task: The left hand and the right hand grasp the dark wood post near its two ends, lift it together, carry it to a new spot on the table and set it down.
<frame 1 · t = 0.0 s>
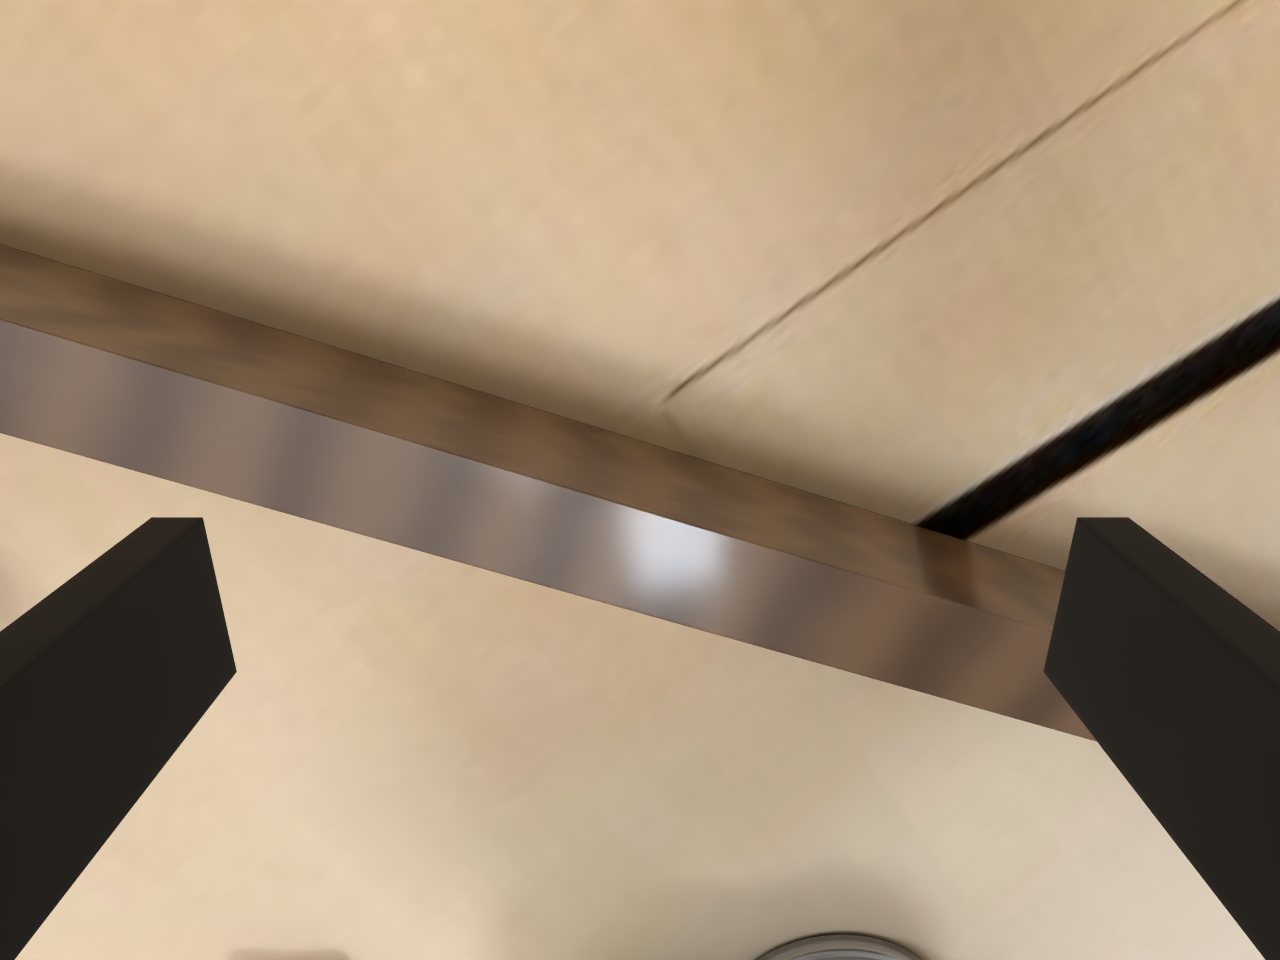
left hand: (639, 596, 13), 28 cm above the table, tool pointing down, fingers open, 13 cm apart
post: (686, 499, 42), on the table
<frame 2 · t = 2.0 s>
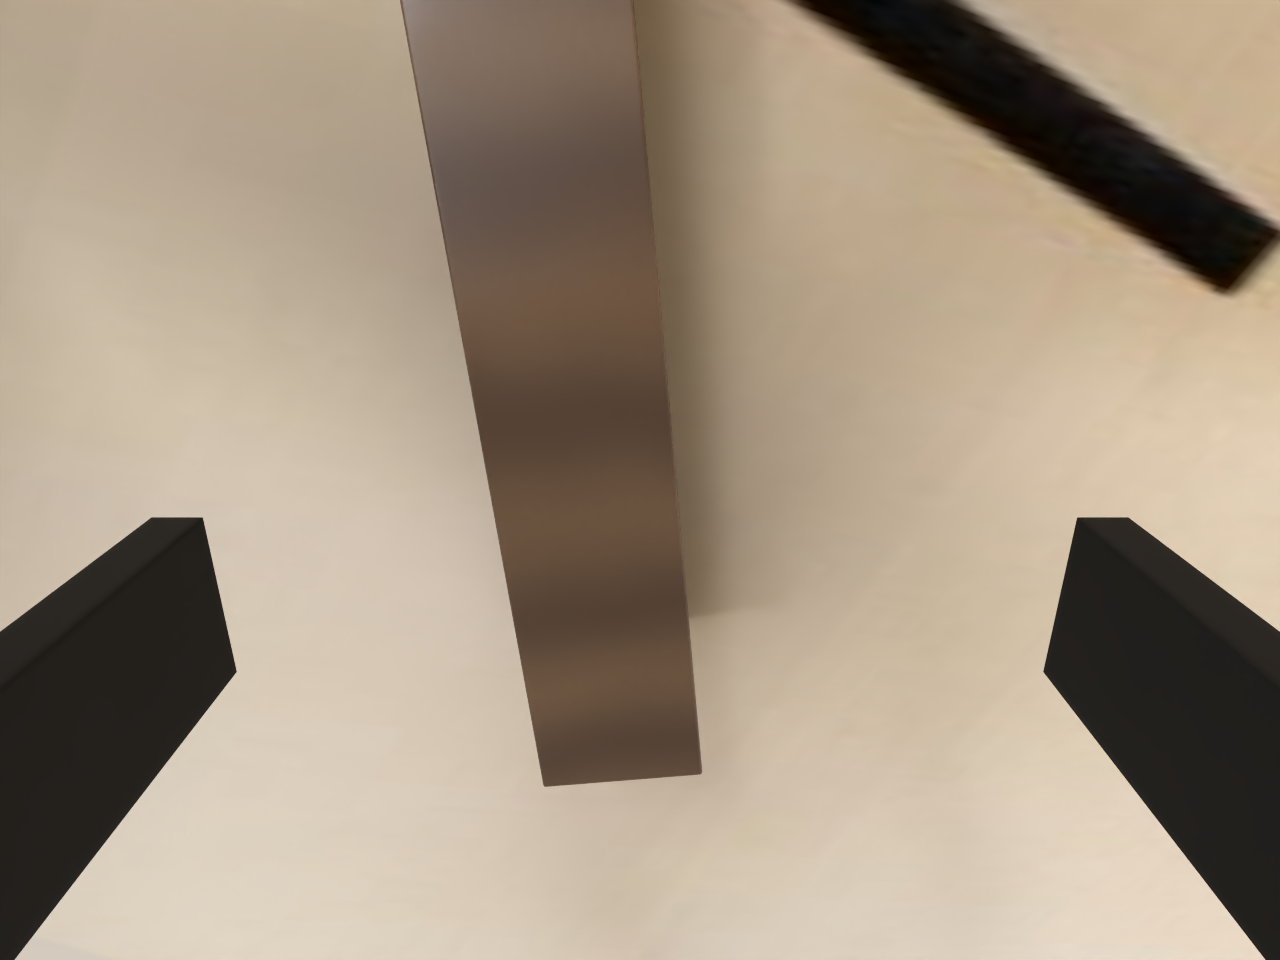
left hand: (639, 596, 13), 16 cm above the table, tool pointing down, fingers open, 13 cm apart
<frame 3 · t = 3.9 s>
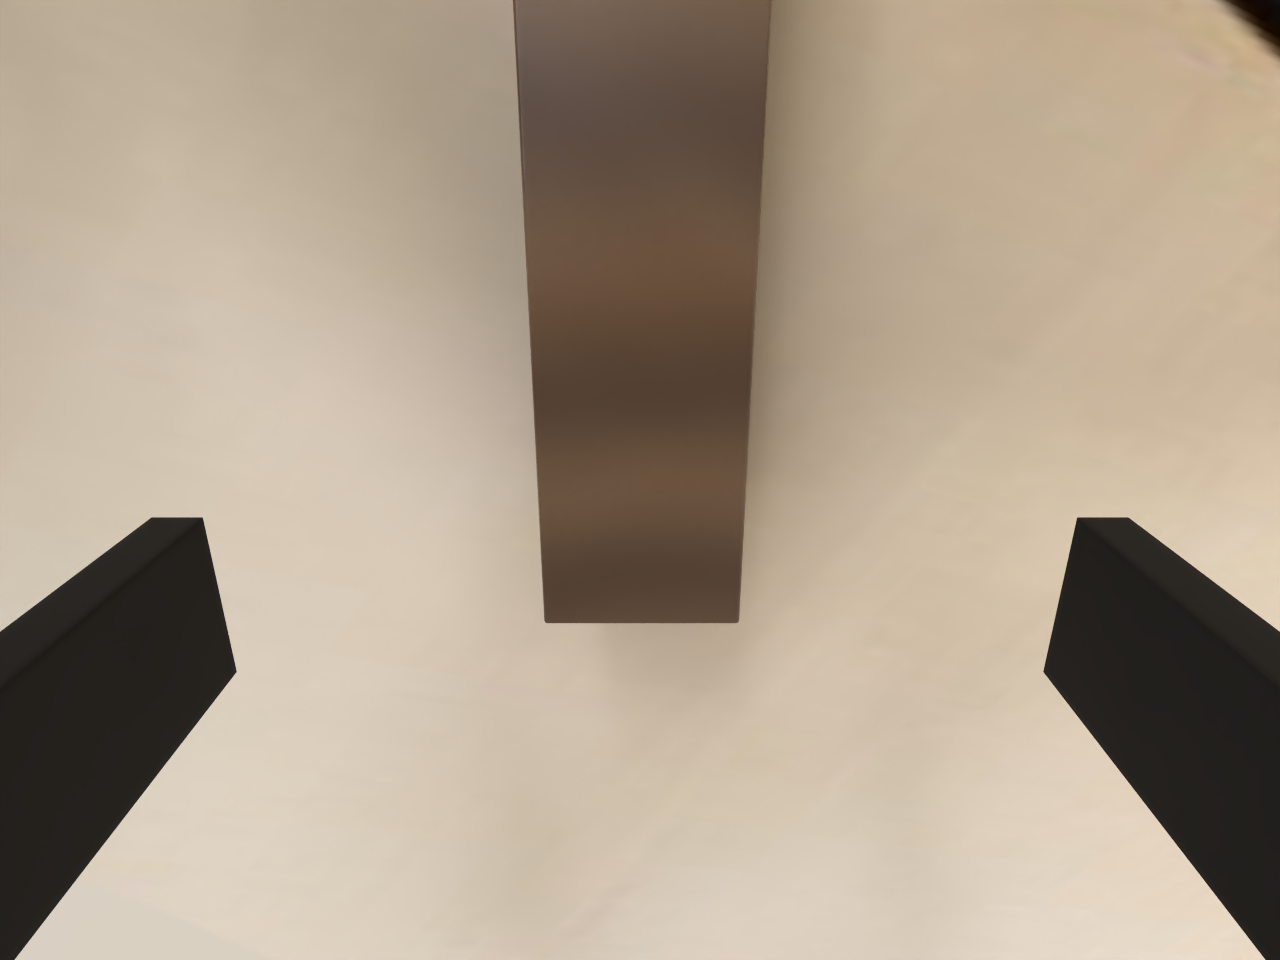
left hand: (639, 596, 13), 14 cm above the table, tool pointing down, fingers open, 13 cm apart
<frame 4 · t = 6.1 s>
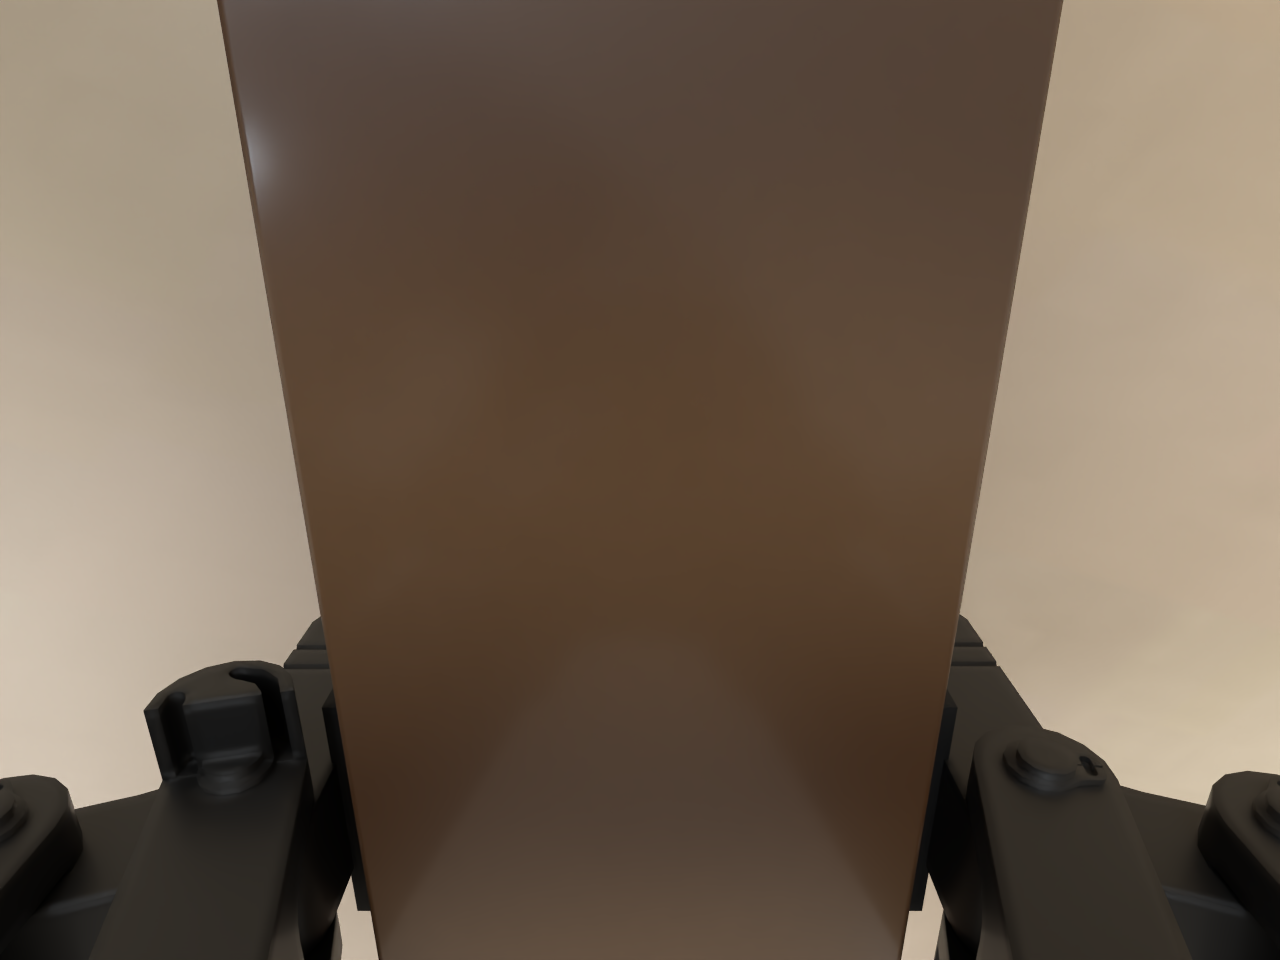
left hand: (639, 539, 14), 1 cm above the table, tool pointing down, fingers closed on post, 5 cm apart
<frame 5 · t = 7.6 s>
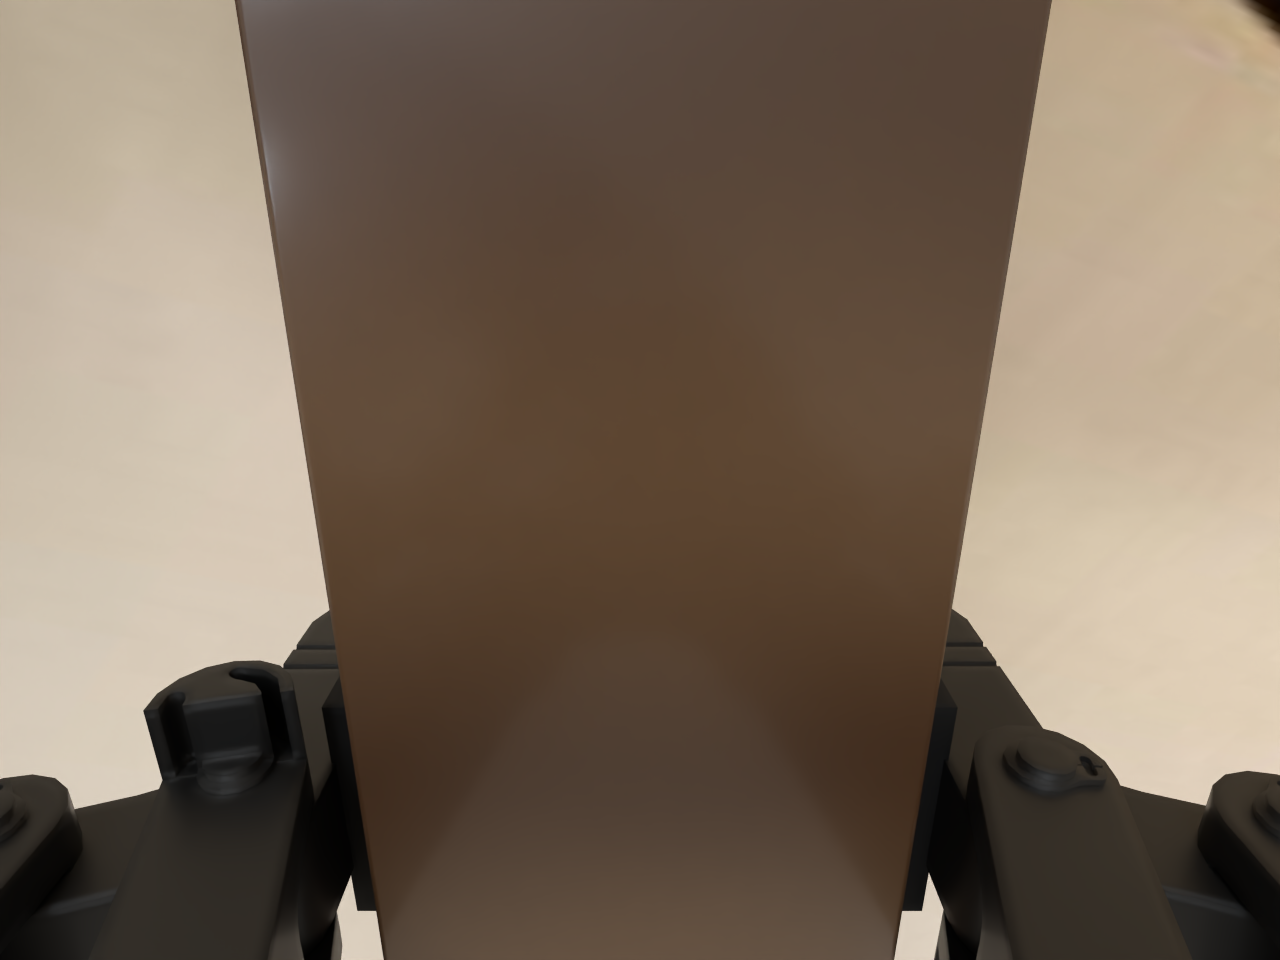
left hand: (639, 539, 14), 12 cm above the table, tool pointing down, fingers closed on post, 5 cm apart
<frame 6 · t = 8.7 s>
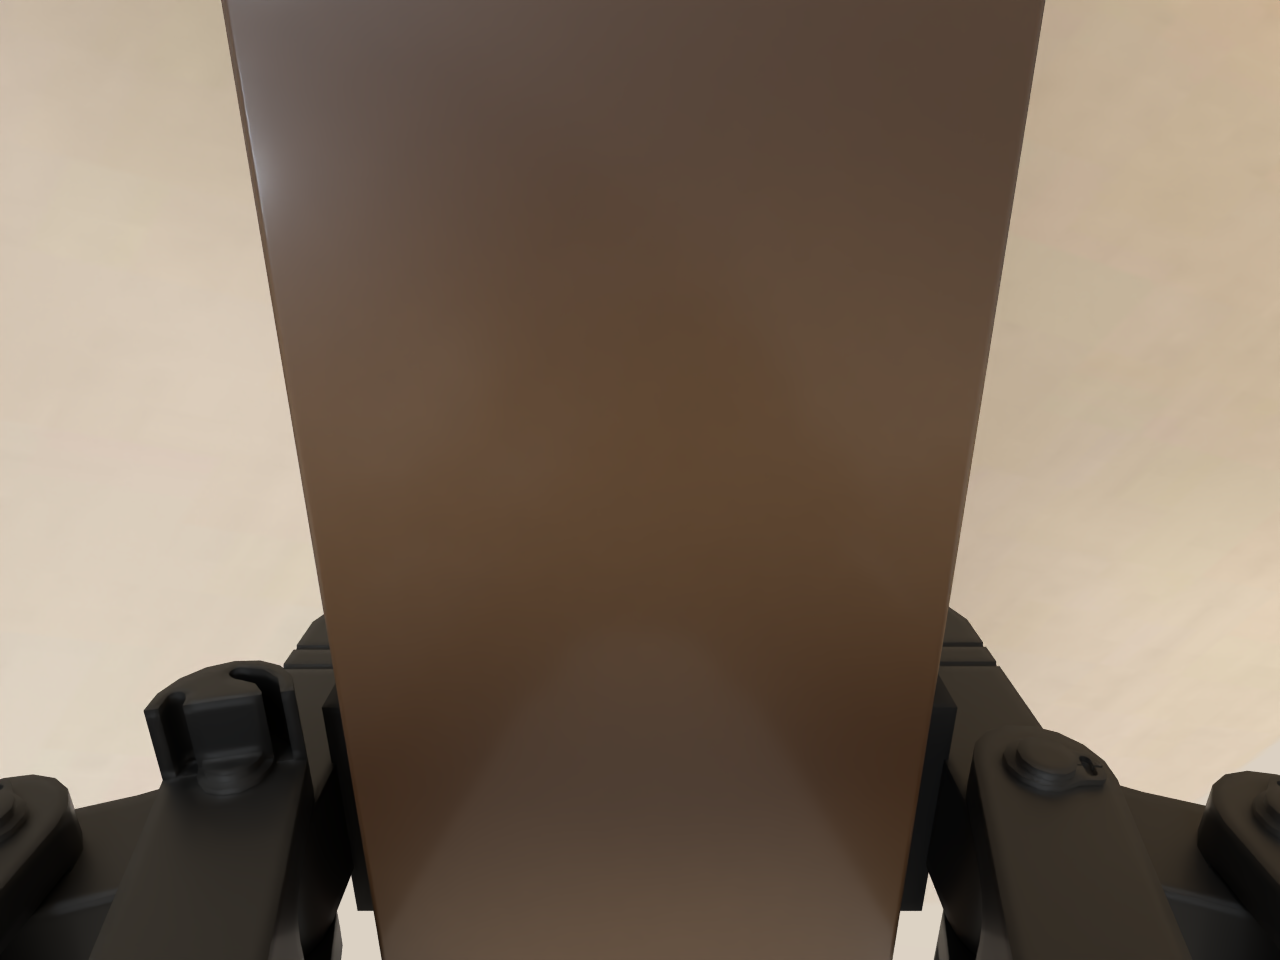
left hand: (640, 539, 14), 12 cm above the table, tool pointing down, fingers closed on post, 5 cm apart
when the left hand's fingers open (2 cm above the table, at t = 11.5 s): post stays where it is, on the table.
when the right hand's fingers open (4 cm above the table, at t = 11.7 s): post stays where it is, on the table.
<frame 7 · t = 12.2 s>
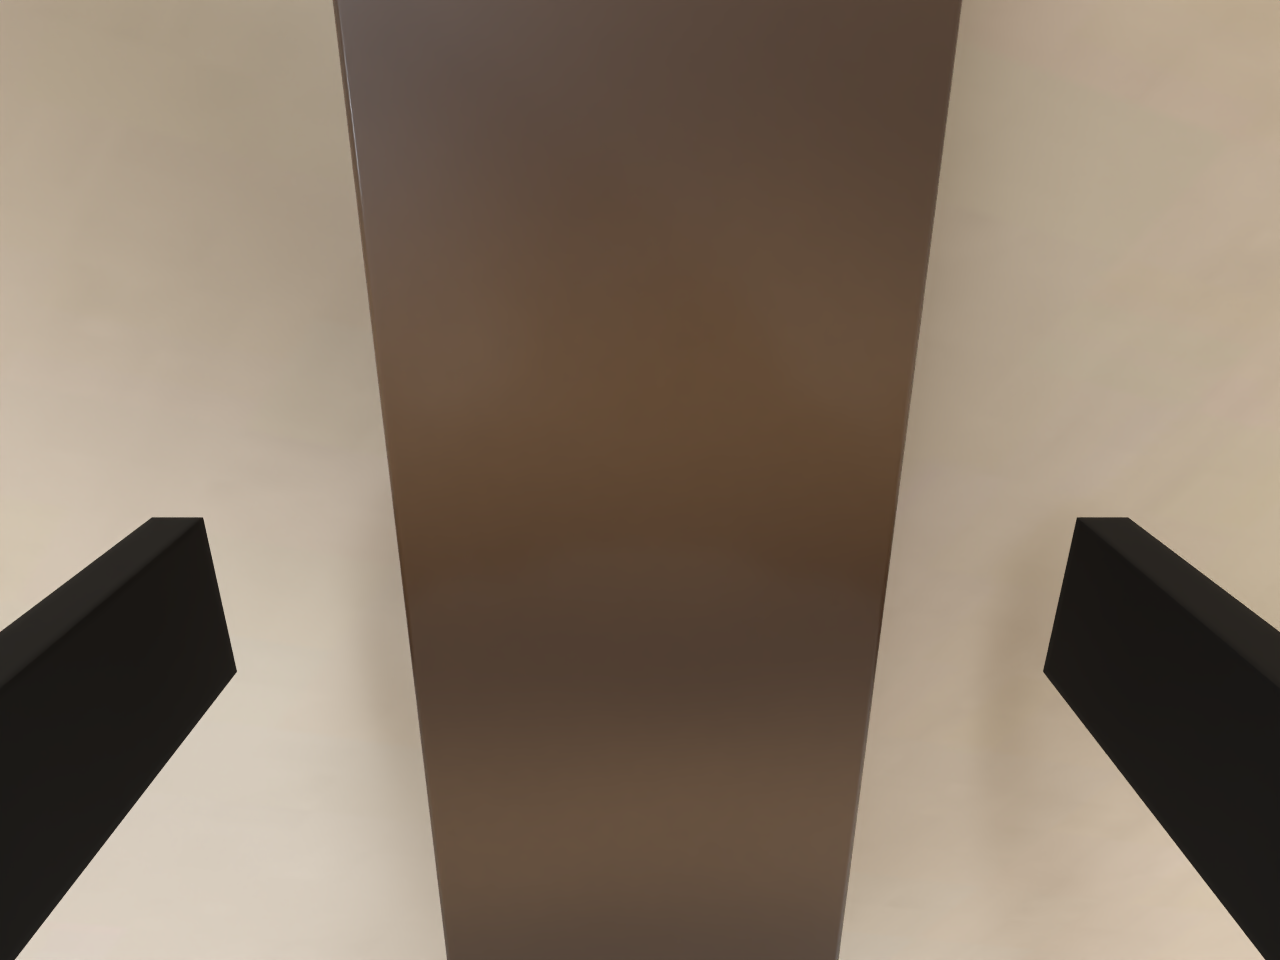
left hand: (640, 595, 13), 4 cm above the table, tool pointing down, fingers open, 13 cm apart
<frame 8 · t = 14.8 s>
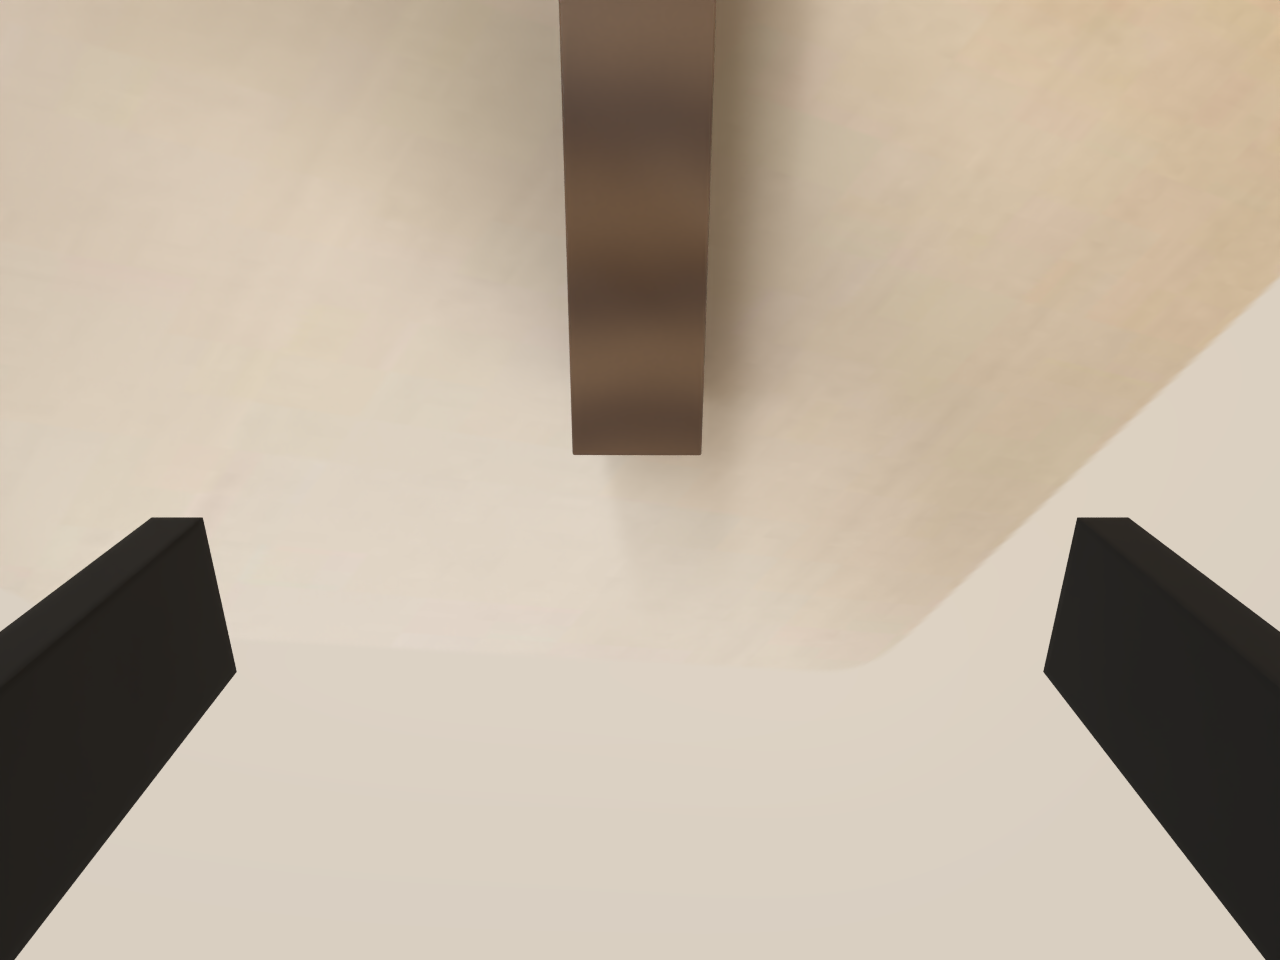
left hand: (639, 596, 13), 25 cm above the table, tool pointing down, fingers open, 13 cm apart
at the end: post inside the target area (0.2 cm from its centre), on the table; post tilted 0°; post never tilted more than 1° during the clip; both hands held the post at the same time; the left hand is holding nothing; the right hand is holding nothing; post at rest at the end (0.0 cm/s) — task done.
